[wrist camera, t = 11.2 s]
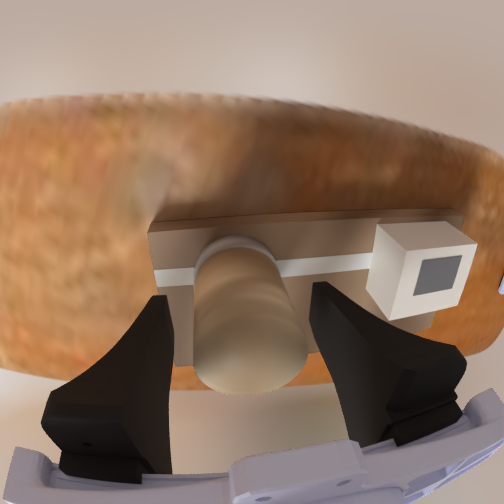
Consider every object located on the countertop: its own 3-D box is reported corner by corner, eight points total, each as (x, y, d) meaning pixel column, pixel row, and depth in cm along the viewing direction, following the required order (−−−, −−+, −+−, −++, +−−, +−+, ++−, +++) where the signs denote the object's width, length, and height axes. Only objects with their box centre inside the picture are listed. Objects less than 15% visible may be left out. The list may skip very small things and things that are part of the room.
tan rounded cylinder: (277, 232, 15) (315, 308, 10) (275, 302, 17) (303, 389, 12) (189, 238, 15) (183, 321, 9) (198, 309, 17) (199, 400, 11)
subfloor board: (452, 208, 17) (464, 215, 16) (421, 319, 21) (429, 329, 20) (151, 222, 15) (147, 232, 14) (176, 353, 19) (175, 366, 18)
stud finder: (445, 221, 16) (478, 244, 14) (431, 278, 18) (457, 305, 15) (376, 224, 16) (407, 251, 13) (365, 288, 17) (389, 321, 15)
